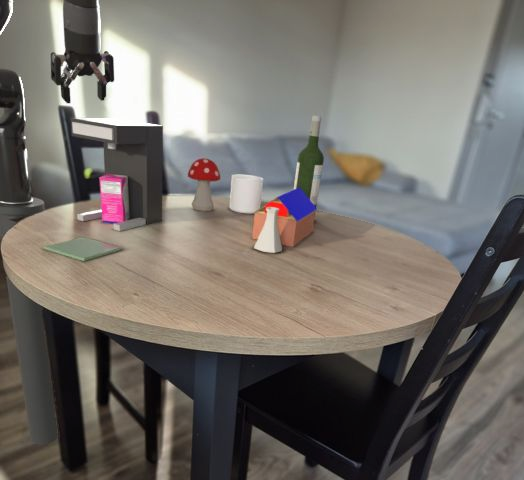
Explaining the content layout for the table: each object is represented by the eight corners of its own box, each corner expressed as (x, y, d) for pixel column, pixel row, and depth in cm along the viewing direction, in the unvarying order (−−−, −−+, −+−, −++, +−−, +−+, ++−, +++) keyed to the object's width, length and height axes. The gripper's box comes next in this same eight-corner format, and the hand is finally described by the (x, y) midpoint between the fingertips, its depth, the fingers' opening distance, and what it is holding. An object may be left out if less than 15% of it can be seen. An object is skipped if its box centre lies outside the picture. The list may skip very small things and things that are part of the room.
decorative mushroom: (186, 210, 147) (188, 158, 140) (186, 204, 154) (188, 154, 147) (219, 213, 149) (222, 161, 142) (217, 207, 156) (220, 158, 149)
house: (313, 232, 141) (319, 190, 135) (293, 247, 124) (300, 201, 118) (274, 224, 144) (279, 183, 138) (250, 238, 127) (255, 192, 121)
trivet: (44, 249, 101) (44, 246, 101) (83, 239, 110) (83, 236, 110) (83, 261, 97) (83, 258, 97) (121, 250, 106) (120, 247, 106)
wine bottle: (292, 215, 158) (306, 114, 144) (316, 219, 156) (332, 117, 142) (287, 219, 151) (301, 114, 137) (311, 223, 150) (328, 117, 136)
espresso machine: (76, 220, 124) (68, 117, 113) (122, 210, 138) (119, 118, 127) (118, 231, 119) (114, 125, 108) (162, 220, 133) (163, 125, 122)
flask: (259, 243, 124) (264, 203, 119) (286, 248, 122) (291, 208, 117) (249, 249, 118) (253, 208, 113) (276, 255, 116) (282, 213, 111)
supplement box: (108, 217, 130) (106, 173, 124) (130, 220, 130) (129, 175, 124) (101, 222, 125) (98, 176, 119) (123, 225, 125) (122, 179, 119)
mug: (255, 215, 152) (259, 181, 147) (225, 210, 153) (227, 176, 148) (264, 208, 163) (268, 176, 158) (236, 203, 164) (238, 172, 159)
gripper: (104, 18, 109) (104, 90, 121) (41, 16, 101) (47, 94, 113) (120, 33, 106) (119, 105, 118) (57, 32, 99) (62, 111, 111)
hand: (84, 100), depth 116 cm, fingers open, 8 cm apart
